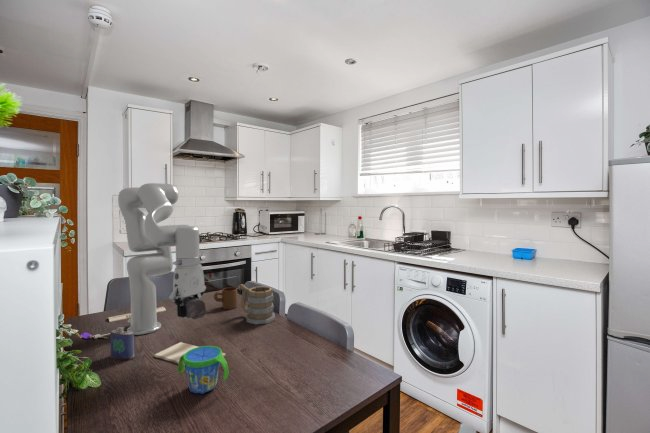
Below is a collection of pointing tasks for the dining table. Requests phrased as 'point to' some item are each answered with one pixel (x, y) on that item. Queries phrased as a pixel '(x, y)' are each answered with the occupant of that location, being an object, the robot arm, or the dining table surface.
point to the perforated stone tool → (194, 307)
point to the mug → (227, 297)
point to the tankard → (258, 304)
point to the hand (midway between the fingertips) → (189, 313)
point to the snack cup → (203, 368)
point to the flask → (122, 344)
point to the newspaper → (126, 316)
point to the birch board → (176, 352)
